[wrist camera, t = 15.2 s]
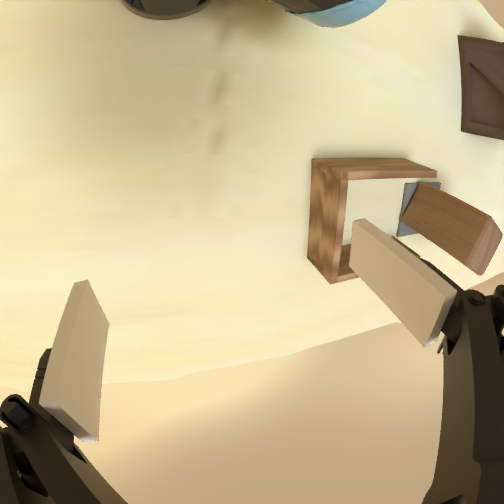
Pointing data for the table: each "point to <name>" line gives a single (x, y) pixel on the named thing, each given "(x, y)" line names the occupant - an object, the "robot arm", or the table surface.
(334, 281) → the cubby
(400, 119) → the table surface
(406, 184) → the pad
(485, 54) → the wooden crate
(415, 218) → the block
